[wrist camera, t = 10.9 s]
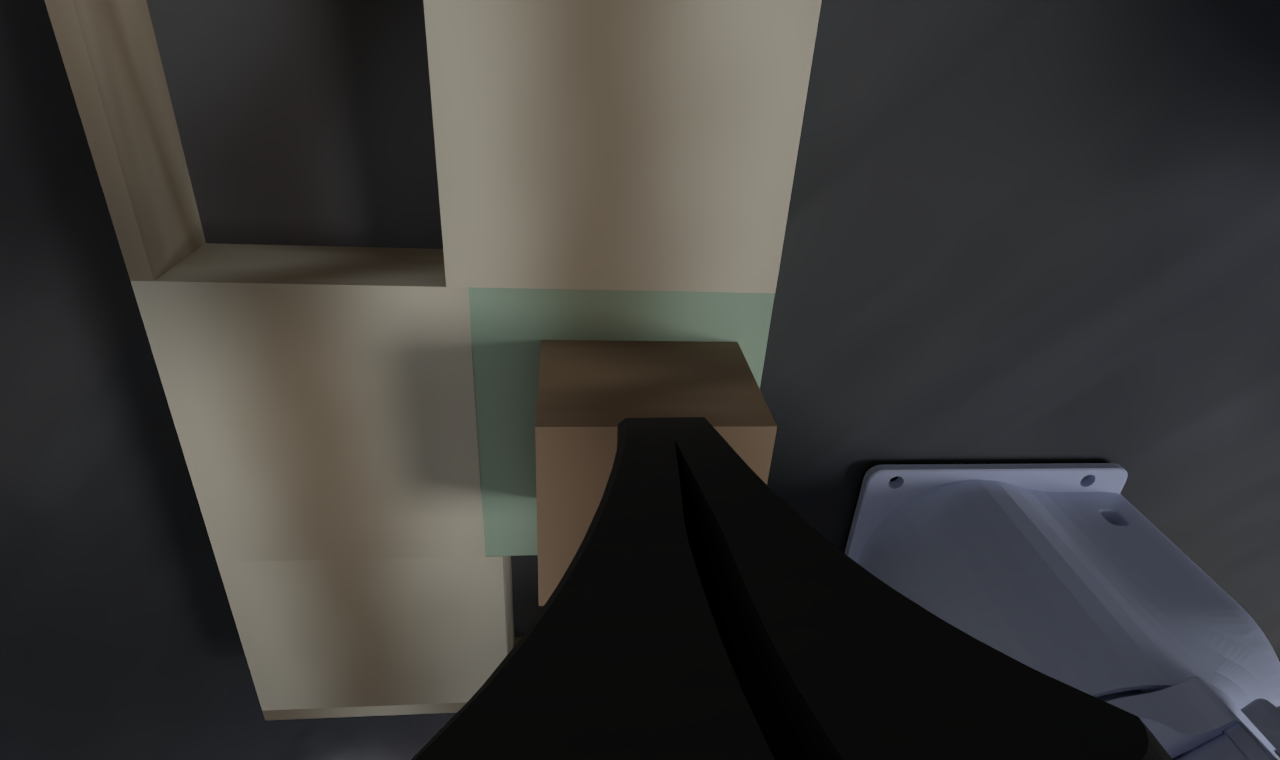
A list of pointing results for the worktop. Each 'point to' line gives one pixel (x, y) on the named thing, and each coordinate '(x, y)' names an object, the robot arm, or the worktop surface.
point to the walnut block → (628, 388)
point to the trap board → (419, 281)
